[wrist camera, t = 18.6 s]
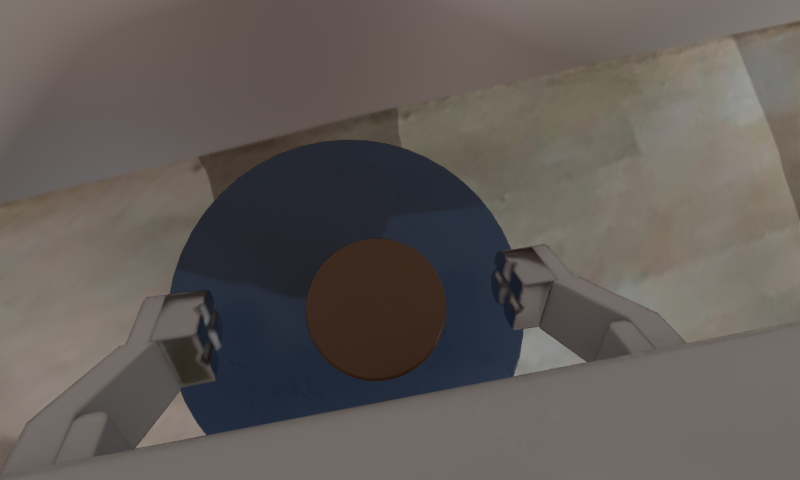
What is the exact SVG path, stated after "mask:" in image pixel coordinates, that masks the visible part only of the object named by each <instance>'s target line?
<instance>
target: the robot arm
mask: <svg viewBox="0 0 800 480" xmlns="http://www.w3.org/2000/svg"><path fill="white" fill-rule="evenodd" d="M494 263H495V264H496V266H497V268H496V270H495V271H494V272H493V273H492V277H491V288H492V293H493V296H494V298H495V300H496V302H497V303H498V304H500V305H501V306H503V307H505V309H504V313H503V314H504V316H505V318H506V319H507V321H508V323H509V324H510V326H511V328H512V330H518V329H525V328H532V327H539V326H540V329H542V330H543V331H545V332H546V333H547V334H549V335H550V336H552V337H553V338H554V339H556V340H557V341H559V342H560V343H561V344H563V345H564V346H565V347H567V348H568V349H570V350H571V351H572V352H574V353H575V354H577V355H578V356H579V357H581V358H582V359H584V360H585V361H586V362H587V363H581V364H576V365H571V366H566V367H560V368H555V369H550V370H545V371H540V372H534V373H529V374H524V375H519V376H513V377H508V378H503V379H498V380H492V381H487V382H482V383H477V384H472V385H466V386H461V387H456V388H451V389H445V390H440V391H435V392H430V393H425V394H419V395H414V396H409V397H404V398H398V399H393V400H388V401H383V402H377V403H372V404H367V405H362V406H357V407H351V408H346V409H341V410H336V411H330V412H325V413H320V414H315V415H310V416H304V417H299V418H294V419H289V420H283V421H278V422H273V423H268V424H263V425H257V426H252V427H247V428H242V429H237V430H231V431H226V432H221V433H216V434H210V435H205V436H200V437H195V438H190V439H184V440H179V441H174V442H169V443H163V444H158V445H153V446H148V447H143V448H137V449H135V448H136V446H137V445H138V444H139V443H140V441H141V440H142V439H143V438H144V436H145V435H146V434H147V432H148V431H149V430H150V429H151V427H152V426H153V425H154V424H155V422H156V421H157V420H158V418H159V417H160V416H161V415H162V413H163V412H164V411H165V409H166V408H167V407H168V406H169V404H170V403H171V402H172V401H173V399H174V398H175V397H176V395H177V394H178V393H179V392H180V390H181V388H182V387H187V386H192V385H197V384H202V383H207V382H212V381H216V376H217V370H218V364H219V358H218V355H217V353H216V352H217V351H218V349H219V348H220V347H221V346H222V339H223V331H222V322H221V318H220V315H219V312H217V311H215V310H214V309H213V305H214V299H213V296H212V294H211V291H209V290H203V291H194V292H185V293H176V294H168V295H161V296H152V297H147V298H146V299H145V300H144V301H143V303H142V305H141V308H140V310H139V313H138V315H137V318H136V320H135V323H134V325H133V328H132V330H131V333H130V335H129V338H128V340H127V343H126V345H124V346H119V347H118V348H116V349H115V350H114V351H113V352H112V353H110V354H109V355H108V356H107V357H106V358H104V359H103V360H102V361H101V362H100V363H98V364H97V365H96V366H95V367H93V368H92V369H91V370H90V371H89V372H87V373H86V374H85V375H84V376H83V377H81V378H80V379H79V380H78V381H77V382H75V383H74V384H73V385H72V386H70V387H69V388H68V389H67V390H66V391H64V392H63V393H62V394H61V395H60V396H58V397H57V398H56V399H55V400H54V401H52V402H51V403H50V404H49V405H48V406H46V407H45V408H44V409H43V410H41V411H40V412H39V413H38V414H37V415H35V416H34V417H33V418H32V419H31V420H29V421H28V422H27V423H26V425H25V427H24V429H23V431H22V433H21V434H20V436H19V438H18V440H17V442H16V444H15V446H14V447H13V449H12V451H11V453H10V455H9V457H8V459H7V460H6V462H5V464H4V466H3V468H2V470H1V471H0V480H800V322H794V323H789V324H784V325H779V326H774V327H769V328H764V329H759V330H754V331H748V332H743V333H738V334H733V335H728V336H722V337H717V338H712V339H707V340H701V341H696V342H691V343H686V342H685V341H684V340H683V339H682V337H681V336H680V335H679V334H678V333H677V332H676V331H675V330H674V329H673V328H672V327H671V326H670V325H669V324H668V323H667V322H666V321H665V320H664V319H663V318H662V317H661V316H660V315H659V314H658V313H656V312H654V311H652V310H650V309H648V308H645V307H643V306H641V305H639V304H637V303H635V302H632V301H630V300H628V299H626V298H624V297H622V296H619V295H617V294H615V293H613V292H611V291H609V290H606V289H604V288H602V287H600V286H598V285H596V284H594V283H591V282H589V281H587V280H585V279H583V278H581V277H576V278H575V277H574V276H573V275H572V274H571V272H570V271H569V270H568V269H567V268H566V266H565V265H564V264H563V263H562V262H561V261H560V259H559V258H558V257H557V256H556V255H555V254H554V252H553V251H552V250H551V249H550V248H549V246H547V245H545V244H543V245H536V246H530V247H525V248H518V249H511V250H504V251H498V252H497V254H496V255H495V260H494Z"/></svg>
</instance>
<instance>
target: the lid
mask: <svg viewBox="0 0 800 480" xmlns="http://www.w3.org/2000/svg"><path fill="white" fill-rule="evenodd" d="M504 250H511V248H510V246H509V244H508V241H507V239H506V237H505V235H504V233H503V231H502V229H501V227H500V226H499V224H498V223H497V221H496V220H495V218H494V216H493V215H492V213H491V212H490V211H489V209H488V208H487V207H486V206H485V204H484V203H483V202H482V201H481V200H480V198H479V197H478V196H477V195H476V194H475V193H474V192H473V191H472V190H471V189H470V188H469V187H468V186H467V185H466V184H465V183H464V182H463V181H461V180H460V179H459V178H457V177H456V176H455V175H453V174H452V173H451V172H449V171H448V170H447V169H445V168H444V167H442V166H440V165H438V164H437V163H435V162H433V161H431V160H430V159H428V158H426V157H424V156H421V155H419V154H417V153H414V152H412V151H409V150H407V149H403V148H400V147H396V146H393V145H389V144H385V143H378V142H372V141H365V140H337V141H326V142H319V143H315V144H310V145H306V146H301V147H298V148H295V149H292V150H290V151H287V152H284V153H281V154H278V155H276V156H274V157H272V158H271V159H269V160H267V161H265V162H263V163H261V164H259V165H257V166H256V167H254V168H253V169H251V170H250V171H248V172H247V173H245V174H244V175H242V176H241V177H239V178H238V179H237V180H236V181H235V182H234V183H232V184H231V185H230V186H229V187H228V188H227V189H226V190H225V191H223V192H222V193H221V194H220V195H219V196H218V198H217V199H216V200H215V201H214V202H213V203H212V204H211V206H210V207H209V208H208V209H207V210H206V211H205V213H204V214H203V216H202V217H201V219H200V220H199V222H198V223H197V225H196V226H195V228H194V229H193V231H192V232H191V234H190V236H189V239H188V241H187V243H186V245H185V247H184V249H183V251H182V253H181V255H180V258H179V261H178V264H177V267H176V270H175V273H174V276H173V281H172V286H171V291H170V294H176V293H185V292H194V291H203V290H209V291H211V294H212V296H213V299H214V305H213V309H214V310H215V311H217V312H219V315H220V318H221V322H222V331H223V339H222V346H221V347H220V348H219V349H218V351H217V352H216V353H217V355H218V358H219V364H218V370H217V376H216V381H212V382H207V383H202V384H197V385H192V386H187V387H182V388H181V390H180V391H181V393H182V396H183V398H184V401H185V403H186V404H187V406H188V408H189V410H190V411H191V413H192V415H193V417H194V418H195V420H196V422H197V424H198V425H199V426H200V427H201V429H202V430H203V431H204V432H205V434H206V435H210V434H216V433H221V432H226V431H231V430H237V429H242V428H247V427H252V426H257V425H263V424H268V423H273V422H278V421H283V420H289V419H294V418H299V417H304V416H310V415H315V414H320V413H325V412H330V411H336V410H341V409H346V408H351V407H357V406H362V405H367V404H372V403H377V402H383V401H388V400H393V399H398V398H404V397H409V396H414V395H419V394H425V393H430V392H435V391H440V390H445V389H451V388H456V387H461V386H466V385H472V384H477V383H482V382H487V381H492V380H498V379H503V378H508V377H513V376H514V374H515V370H516V367H517V363H518V360H519V357H520V350H521V344H522V338H523V329H518V330H512V328H511V326H510V324H509V323H508V321H507V319H506V318H505V316H504V314H503V313H504V309H505V307H503V306H501V305H500V304H498V303H497V302H496V300H495V298H494V296H493V293H492V288H491V277H492V273H493V272H494V271H495V270H496V268H497V266H496V264H495V263H494V260H495V255H496V254H497V252H498V251H504Z"/></svg>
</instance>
